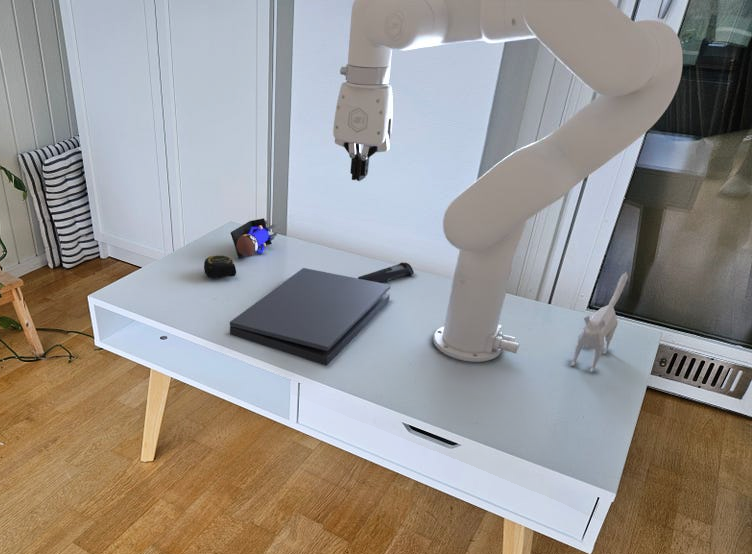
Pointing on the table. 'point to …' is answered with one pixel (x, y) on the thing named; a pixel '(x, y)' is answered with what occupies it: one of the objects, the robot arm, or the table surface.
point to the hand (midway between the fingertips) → (358, 178)
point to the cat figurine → (600, 327)
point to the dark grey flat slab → (307, 351)
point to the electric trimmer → (389, 273)
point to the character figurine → (252, 237)
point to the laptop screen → (311, 308)
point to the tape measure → (219, 267)
